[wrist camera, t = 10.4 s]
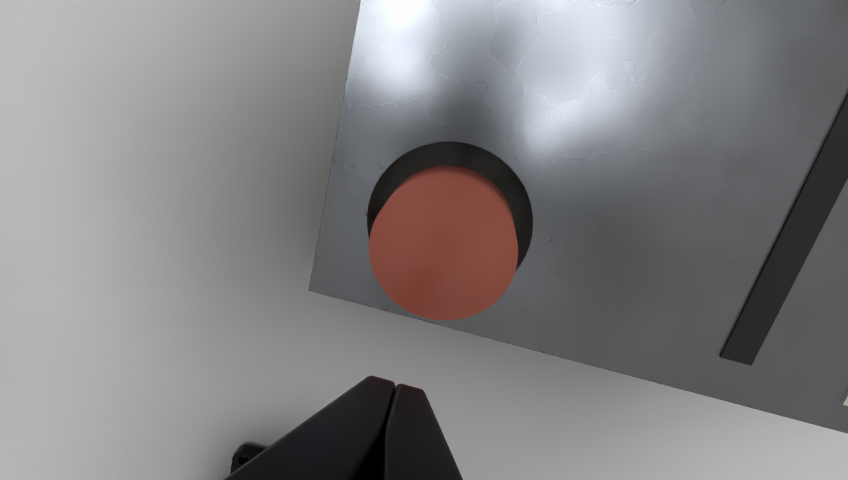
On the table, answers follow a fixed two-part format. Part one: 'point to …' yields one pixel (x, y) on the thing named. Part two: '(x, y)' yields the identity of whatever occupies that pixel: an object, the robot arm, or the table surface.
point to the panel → (624, 180)
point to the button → (444, 243)
